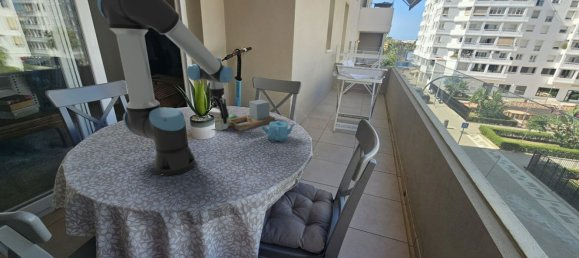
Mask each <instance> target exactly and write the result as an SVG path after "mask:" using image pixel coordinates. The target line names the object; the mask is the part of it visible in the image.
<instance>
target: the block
mask: <svg viewBox="0 0 579 258" xmlns="http://www.w3.org/2000/svg"><path fill="white" fill-rule="evenodd" d="M248 102H249V103H248V104H249V105H248V106H249V115H250V118H252V119H254V120H256V121H258V120H262V119H266V118H269V115H270V102H269V101H267V100H264V99H256V100H251V101H248Z"/></svg>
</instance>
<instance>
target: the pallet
mask: <svg viewBox="0 0 579 258" xmlns="http://www.w3.org/2000/svg"><path fill="white" fill-rule="evenodd" d="M245 121H246V122H247V123H243V124H237V123H242V122H245ZM270 122H276V117H275V116H272V115H270V114H269V118H266V119H262V120H258V121H256V120H254V119H252V118H250V114H247V115H243V116H238V117H237V118H233V119H229V127H232V128H233V129H235V130H237V131H239V132H240V131H245V130H248V129H251V128H255V127H256V128H257V127H260V126H265V125H267V124H270Z"/></svg>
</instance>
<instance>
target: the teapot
mask: <svg viewBox="0 0 579 258" xmlns="http://www.w3.org/2000/svg"><path fill="white" fill-rule="evenodd" d="M268 124H269V125H268V128H267V127H266V126H265V125H261V127H260V128H261V129H262V130H263V131H264V132H266V133H267V138H268V141H270V142H271V143H275V142H280V143H285V142H286V141H287V140H288V135H290V134H291V133H292V131H293V128H294V126H295V125H296V123H291V124H290V126H289V128H288V122H287V121H280V120H275V122H270V123H268Z"/></svg>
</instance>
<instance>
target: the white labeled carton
mask: <svg viewBox="0 0 579 258" xmlns="http://www.w3.org/2000/svg"><path fill="white" fill-rule="evenodd" d="M209 110H210V109H209ZM229 110H230V109H229V108H228V107H227V111H228V115H230V114H229V113H230V111H229ZM209 114H210V115H213V116H214V119H215V128H216V130H217V131H223V130H224V129H222V120H221V118H222V116H221V112H220V110H219V107H214V108H212V109H211V110H210V111H209ZM228 127H230V125H229V117H228V118H227V128H228Z"/></svg>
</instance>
